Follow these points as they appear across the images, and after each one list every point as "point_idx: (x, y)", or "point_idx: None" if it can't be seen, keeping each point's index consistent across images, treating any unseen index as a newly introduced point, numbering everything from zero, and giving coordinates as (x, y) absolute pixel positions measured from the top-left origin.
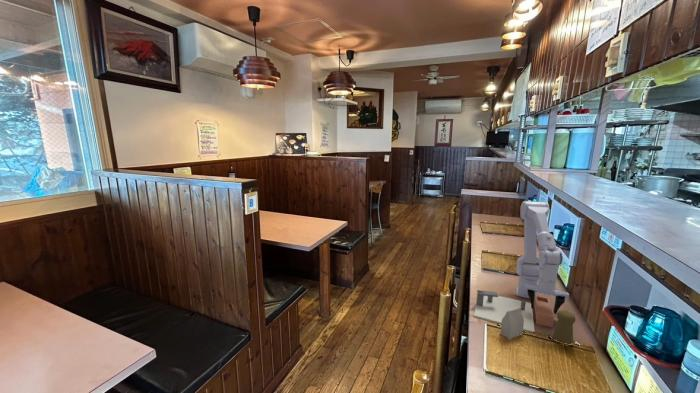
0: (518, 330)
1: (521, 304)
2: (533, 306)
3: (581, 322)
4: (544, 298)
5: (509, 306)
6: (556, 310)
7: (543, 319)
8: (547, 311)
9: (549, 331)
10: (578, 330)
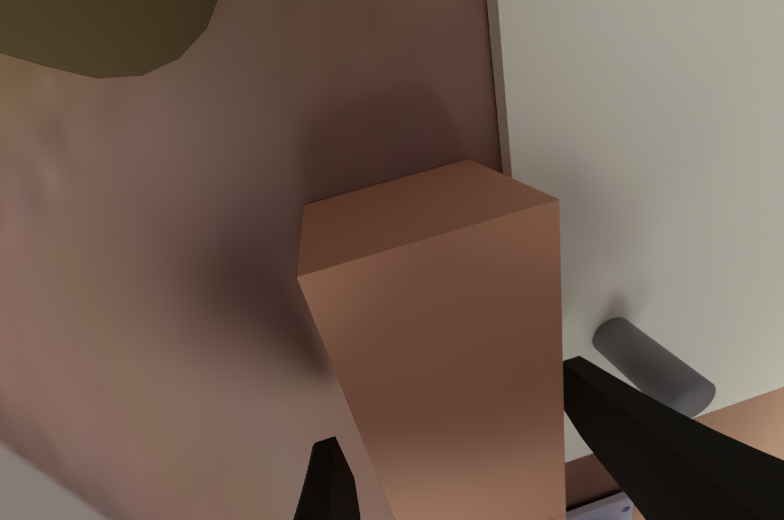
0: None
1: (676, 357)
2: (592, 381)
3: (123, 515)
4: None
5: (725, 287)
6: (312, 497)
7: (424, 201)
8: (417, 386)
9: (302, 79)
10: (65, 373)
